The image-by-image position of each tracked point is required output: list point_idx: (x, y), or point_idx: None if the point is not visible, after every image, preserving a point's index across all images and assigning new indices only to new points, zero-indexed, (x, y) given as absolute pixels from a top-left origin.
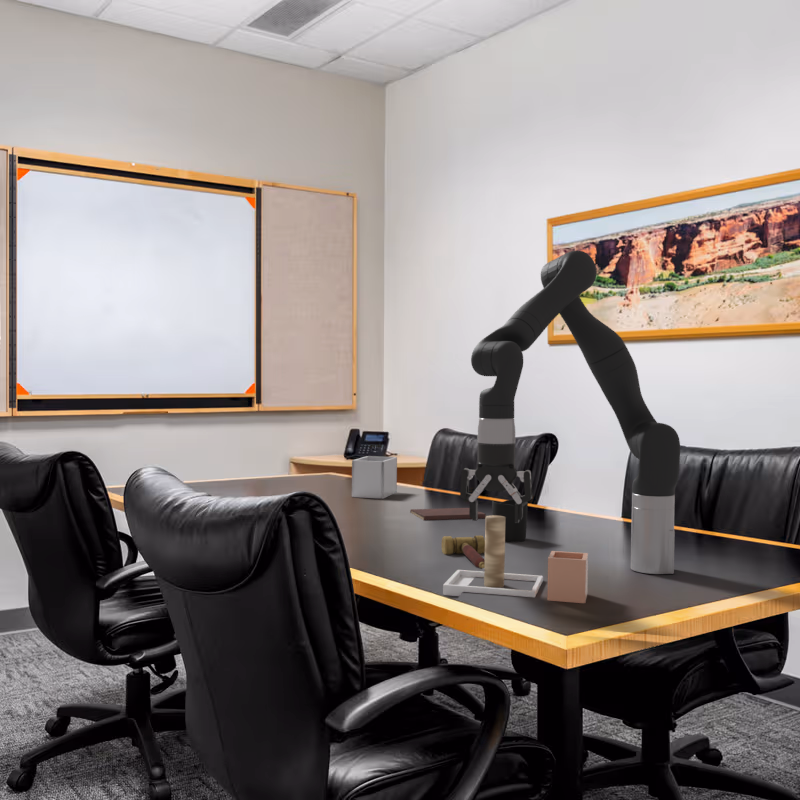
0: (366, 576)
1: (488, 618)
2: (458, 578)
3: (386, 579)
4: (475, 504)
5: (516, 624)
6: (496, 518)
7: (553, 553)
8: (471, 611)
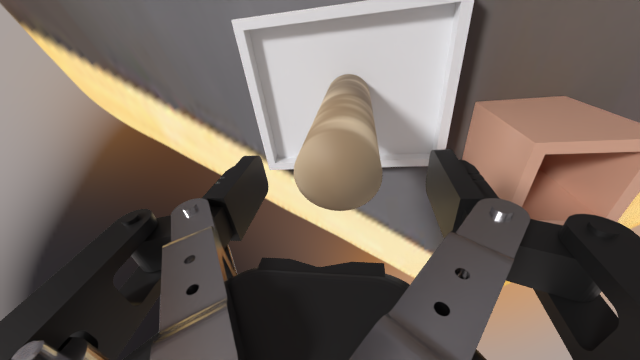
0: (89, 82)
1: (371, 243)
2: (254, 55)
3: (132, 91)
4: (242, 235)
5: (409, 255)
6: (349, 205)
7: (531, 177)
8: (343, 224)
